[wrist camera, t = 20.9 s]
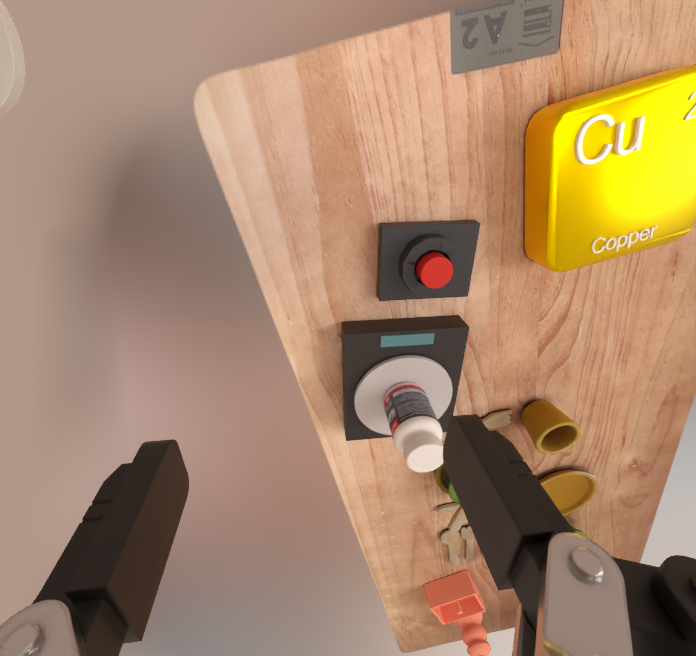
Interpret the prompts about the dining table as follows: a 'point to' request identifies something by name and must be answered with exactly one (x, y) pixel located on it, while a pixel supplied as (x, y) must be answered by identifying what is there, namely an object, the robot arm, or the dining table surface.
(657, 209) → the element tile
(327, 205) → the dining table surface
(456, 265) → the block
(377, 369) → the scale
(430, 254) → the button
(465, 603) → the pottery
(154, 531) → the robot arm
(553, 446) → the tableware set
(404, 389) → the pill bottle
